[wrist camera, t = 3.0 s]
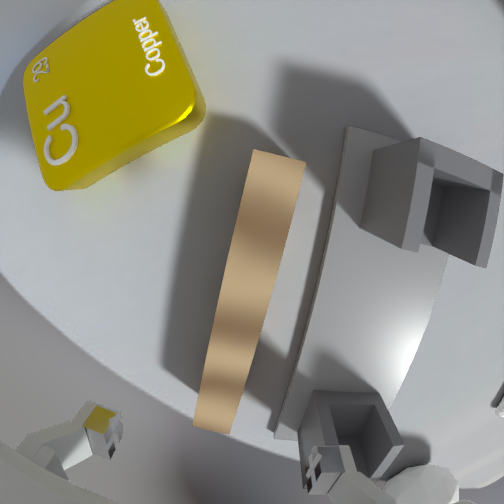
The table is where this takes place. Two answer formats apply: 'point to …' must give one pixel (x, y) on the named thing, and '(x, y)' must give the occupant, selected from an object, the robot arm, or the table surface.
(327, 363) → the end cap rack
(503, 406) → the knuckle duster
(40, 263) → the table surface
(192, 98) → the element tile
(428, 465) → the geodesic sphere
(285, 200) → the oak slat
